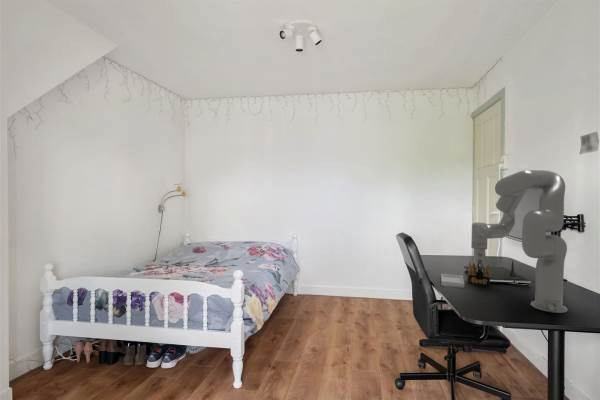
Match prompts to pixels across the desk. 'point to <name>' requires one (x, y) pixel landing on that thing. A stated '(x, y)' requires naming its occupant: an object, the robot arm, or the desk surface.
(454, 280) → the tray
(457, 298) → the desk surface
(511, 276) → the eiffel tower figurine
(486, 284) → the ammunition clip
